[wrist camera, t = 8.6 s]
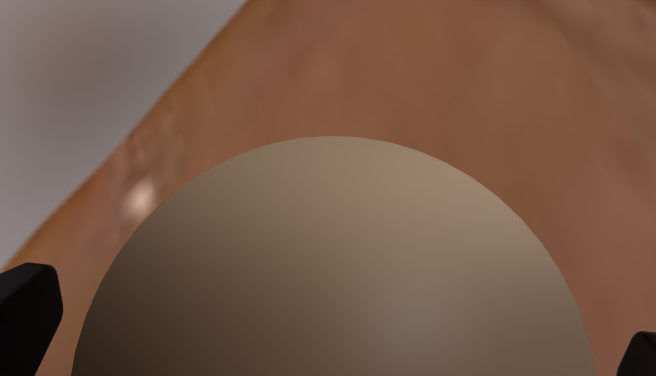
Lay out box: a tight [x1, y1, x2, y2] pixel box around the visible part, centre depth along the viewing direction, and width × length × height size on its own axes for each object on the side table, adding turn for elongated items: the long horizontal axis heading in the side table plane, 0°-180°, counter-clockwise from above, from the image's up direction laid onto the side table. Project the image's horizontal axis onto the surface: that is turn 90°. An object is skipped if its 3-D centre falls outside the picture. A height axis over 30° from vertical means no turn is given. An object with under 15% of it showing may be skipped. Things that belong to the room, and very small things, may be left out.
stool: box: [71, 136, 597, 376], centre depth 12 cm, size 7×7×11 cm
